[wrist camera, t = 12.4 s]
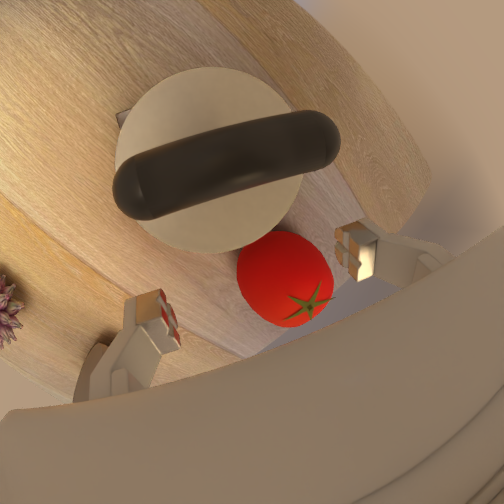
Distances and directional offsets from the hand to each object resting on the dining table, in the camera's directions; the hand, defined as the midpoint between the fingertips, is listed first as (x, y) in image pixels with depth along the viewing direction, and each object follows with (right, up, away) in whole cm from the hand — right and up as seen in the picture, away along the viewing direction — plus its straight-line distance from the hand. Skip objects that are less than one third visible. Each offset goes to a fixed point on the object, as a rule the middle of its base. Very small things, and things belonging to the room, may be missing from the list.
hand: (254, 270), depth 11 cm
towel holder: (-4, +11, +4) cm, 12 cm away
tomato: (+2, +1, +32) cm, 32 cm away
